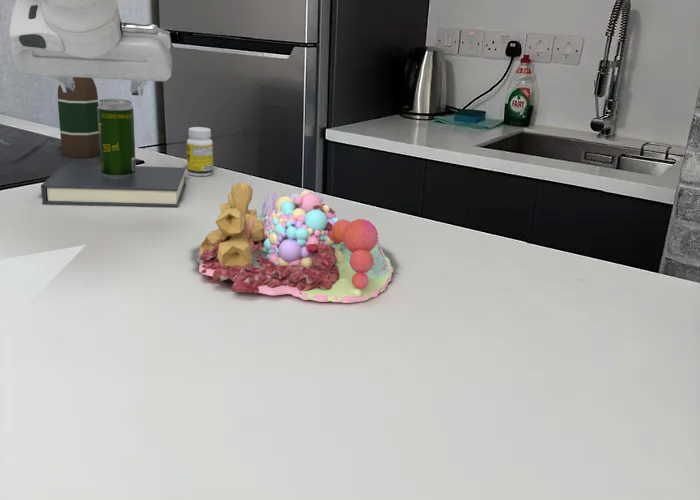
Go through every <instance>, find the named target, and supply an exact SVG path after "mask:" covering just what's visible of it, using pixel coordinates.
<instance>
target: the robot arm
mask: <svg viewBox="0 0 700 500" xmlns="http://www.w3.org/2000/svg"><path fill="white" fill-rule="evenodd" d="M8 35H9V36H8V37H9V40H10V41H11V44H10V54H11V57H12V61H13V65H14V66H15V68H16V70H17V71H18V72H20V73H22V74H23V75H26V76H43V77H48V79H50V80H51V81H53V82H54V83H56V84H57V85H58V86H59V85H60V86H61V88H62V90H63V92H75V89H74V88H75V81H74V78H73V77H83V78H92V79H108V80H126V81H127V80H128V81H130V92H131V96H137V97H138V96H140V97H143V96H144V88H145V86H146V85H148V82H167V81H168V80H169V79H170V78H172V76H173V75H172V74H173V56H172V52H171V47H172V39H171V38H172V37H171V34H170V33H169V31H167V30H165V29H163V28H161V27H158V25H157V24H154V23H147V24H141V23H135V22H123V21H122V19H121V14H120V10H119V5H118V2H117V0H15V3H14V6H13V8H12V12H11V15H10V23H9V34H8Z"/></svg>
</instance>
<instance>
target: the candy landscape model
mask: <svg viewBox="0 0 700 500" xmlns="http://www.w3.org/2000/svg"><path fill="white" fill-rule="evenodd" d="M253 193H254V189H253V187H252V186H251V184H248V183H244V182H237V183H235V184H233V185H231V191H230V192H229V193H228V194H227V202H225V203H221V204H218V206H219V209H220V211H221V213H220V214H219V215H218V216H217V218H216V220H215V222H214V223H215V225H216V226H217V229H214V230H212V231H210V232H209V233H208V234H207V235H206V237H205V238H204V240H203V242H202V243H201V245H200V246H199V251H198V252H196V253H195V254H196V256H197V258H196V262H198V264H199V265H198V272H199V274H201V275H205V276H209V277H211V280H210V283H209V285H212V284H216V283H218V282H223V281H225V280H231V281H232V282H233V283H232V287H231V289H230V292H237V293H249V294H263V295H267V296H281V295H292V296H293V297H296V298H299V299H301V300H304V301H308V300H309V301H310V300H311V301H315V302H320V303H326V302H332V303H343V304H351V303H359V302H360V303H361V302H367V301H368V300H370V299H373V298H372V297H374V298H377V297H378V296H379V295H380V294H381V293H384V292H385V291H386V290H385V289H387V288H388V285H389V284H390V283H391V282H392V277H393V274H394V268H395V267H393V266H392V265H391V260H390V258H389V257H387V256H386V255H385V253H384V251H383V248H382V246H380V242H379V238H380V236H378V234H379V233H378V230H377V229H376V226H375V225H374V224H373V223H372V222H371V221H370V220H367V219H363V218H358V219H354V220H352V221H349V220H347V219H344V218H343V219H339V217H337V214H336V211H335V210H334V209H333V208H331V207H330V206H329V205H327V204H325V203H323V202H324V199H323V197H322V196H321V195H320V194H316V193H314V192H311V191H310V190H309V189H304V190H302V191H301V192H300V193H296V192H292V193H291V194H289V195H286V193H284V195H283V196H281V197H279V198H276V197H277V190H275V191H274V193H272V198H271V202H270V203H268V193H266V194H265V197H264V199H263V204H262V207H261V210H260V214H259V215H258V214H257V213H258V212H257V209H256V208H254V209H249V205H250V203H251V201H252V200H253ZM276 199H277V200H276ZM267 203H268V204H267ZM392 273H393V274H392ZM390 281H391V282H390ZM389 282H390V283H389ZM388 283H389V284H388ZM386 287H387V288H386ZM383 291H384V292H383ZM380 292H381V293H380ZM378 294H379V295H378ZM366 300H367V301H366Z"/></svg>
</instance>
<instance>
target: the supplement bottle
mask: <svg viewBox="0 0 700 500" xmlns="http://www.w3.org/2000/svg"><path fill="white" fill-rule="evenodd" d="M211 137H212V130H211V128H209V127H205V126H204V127H203V126H192V127H189V128H188V139H187V140H186V171H187V174H188V175H190V176H193V177H208V176H212V175H213V174H214V150H213V149H214V141H213V140H212V139H211Z"/></svg>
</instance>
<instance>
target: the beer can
mask: <svg viewBox="0 0 700 500" xmlns="http://www.w3.org/2000/svg"><path fill="white" fill-rule="evenodd" d="M97 112H98V129H99V146H100V155H99V161H100V162H99V164H100V165H101V173H102V175H103V176H104V177H105V178H108V179H128V178H132V177H133V176H134V175H135V172H136V166H137V165H136V143H135V117H134V107H133V105H132V100H131V99H130V100H129V99H123V98H103V99H98V107H97Z"/></svg>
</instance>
